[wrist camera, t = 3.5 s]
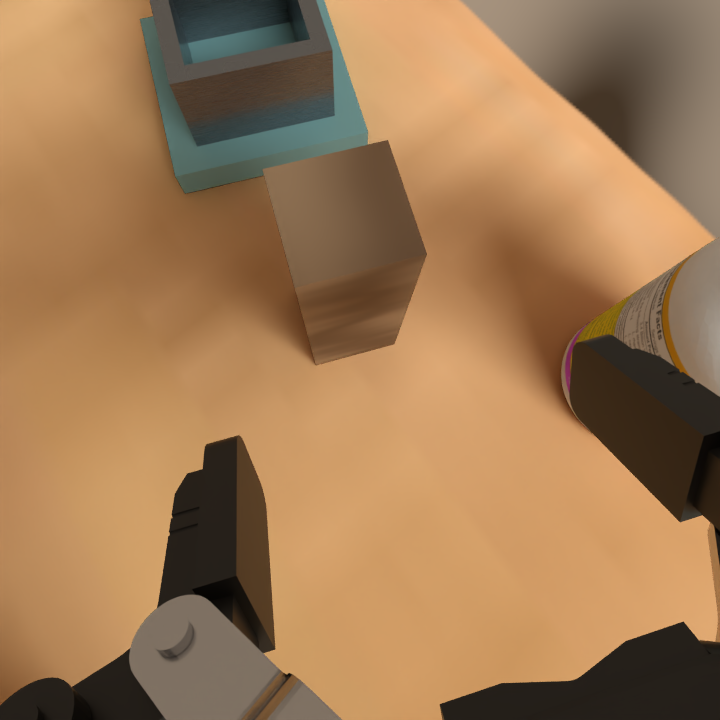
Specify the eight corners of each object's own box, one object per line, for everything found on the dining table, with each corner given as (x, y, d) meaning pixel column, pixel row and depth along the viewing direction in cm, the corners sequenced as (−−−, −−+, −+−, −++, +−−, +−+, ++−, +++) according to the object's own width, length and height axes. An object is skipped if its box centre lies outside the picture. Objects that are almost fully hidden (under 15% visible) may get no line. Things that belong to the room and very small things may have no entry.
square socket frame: (197, 146, 24) (169, 84, 21) (170, 34, 26) (139, -44, 22) (334, 115, 25) (332, 49, 21) (300, 7, 27) (292, -73, 23)
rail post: (315, 365, 24) (294, 288, 14) (295, 290, 24) (262, 169, 15) (394, 344, 24) (426, 254, 14) (371, 271, 25) (387, 140, 15)
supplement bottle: (709, 360, 24) (1096, 236, 12) (657, 476, 23) (1035, 478, 10) (588, 293, 25) (833, 109, 12) (531, 402, 23) (742, 319, 11)
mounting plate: (185, 193, 26) (175, 176, 24) (150, 43, 28) (139, 18, 26) (366, 151, 26) (368, 132, 25) (320, 8, 29) (318, -17, 27)
